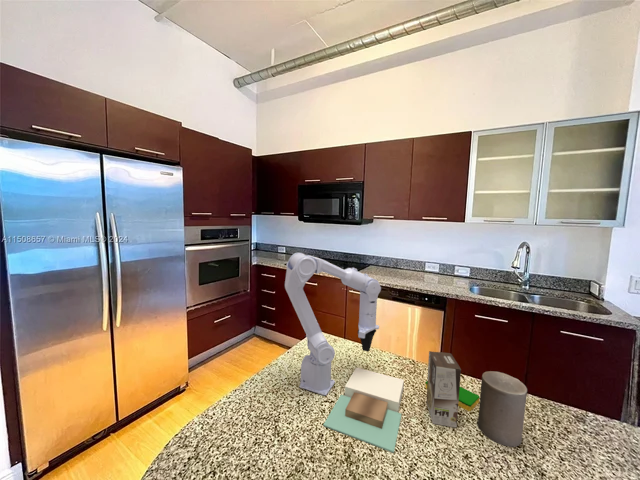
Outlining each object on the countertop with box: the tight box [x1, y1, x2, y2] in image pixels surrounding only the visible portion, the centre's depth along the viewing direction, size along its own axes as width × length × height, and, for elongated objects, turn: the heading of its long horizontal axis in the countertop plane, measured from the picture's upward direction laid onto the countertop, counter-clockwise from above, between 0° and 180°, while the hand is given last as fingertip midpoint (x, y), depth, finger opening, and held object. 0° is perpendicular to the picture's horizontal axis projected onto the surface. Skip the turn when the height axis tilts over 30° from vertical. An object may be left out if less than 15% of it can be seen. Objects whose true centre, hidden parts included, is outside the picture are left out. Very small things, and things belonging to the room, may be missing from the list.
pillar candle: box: [477, 370, 528, 448], centre depth 68 cm, size 10×10×15 cm
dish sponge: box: [424, 380, 480, 412], centre depth 83 cm, size 7×14×2 cm, turn 39°
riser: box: [344, 367, 405, 413], centre depth 83 cm, size 16×12×3 cm
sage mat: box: [322, 394, 403, 454], centre depth 71 cm, size 18×14×1 cm
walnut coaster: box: [345, 392, 388, 429], centre depth 74 cm, size 10×8×2 cm
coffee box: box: [426, 351, 462, 428], centre depth 74 cm, size 9×6×16 cm
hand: (366, 350), depth 91 cm, fingers closed
